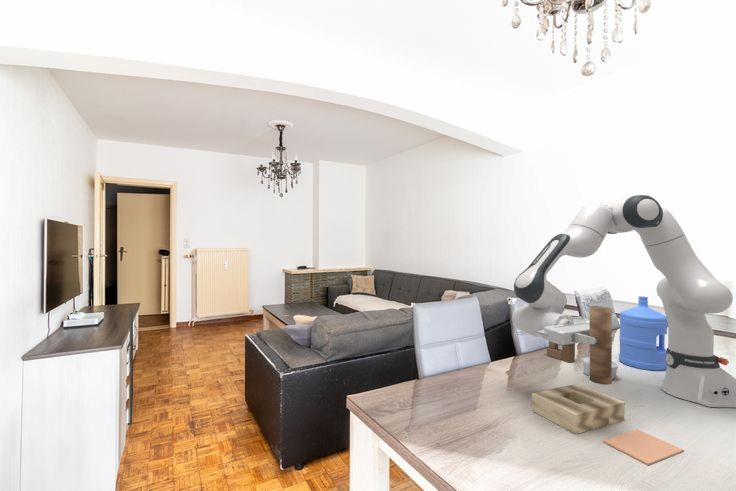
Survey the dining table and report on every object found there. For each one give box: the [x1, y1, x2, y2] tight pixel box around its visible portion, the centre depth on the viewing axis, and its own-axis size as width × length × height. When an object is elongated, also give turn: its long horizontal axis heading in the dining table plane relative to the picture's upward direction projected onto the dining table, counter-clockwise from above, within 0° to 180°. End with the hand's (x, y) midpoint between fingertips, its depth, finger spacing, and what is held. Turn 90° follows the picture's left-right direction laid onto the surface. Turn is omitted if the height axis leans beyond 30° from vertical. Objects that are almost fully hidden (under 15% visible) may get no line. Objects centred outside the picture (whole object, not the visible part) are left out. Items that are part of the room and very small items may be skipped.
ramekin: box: [581, 356, 619, 380], centre depth 132 cm, size 11×11×5 cm
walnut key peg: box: [589, 305, 613, 386], centre depth 95 cm, size 5×5×20 cm
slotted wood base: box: [531, 383, 626, 435], centre depth 101 cm, size 20×14×5 cm
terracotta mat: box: [602, 428, 685, 466], centre depth 85 cm, size 14×10×1 cm
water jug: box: [618, 296, 668, 371], centre depth 145 cm, size 16×16×28 cm
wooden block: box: [546, 341, 576, 364], centre depth 151 cm, size 4×11×18 cm, turn 26°
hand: (604, 339), depth 94 cm, fingers closed on walnut key peg, 5 cm apart
